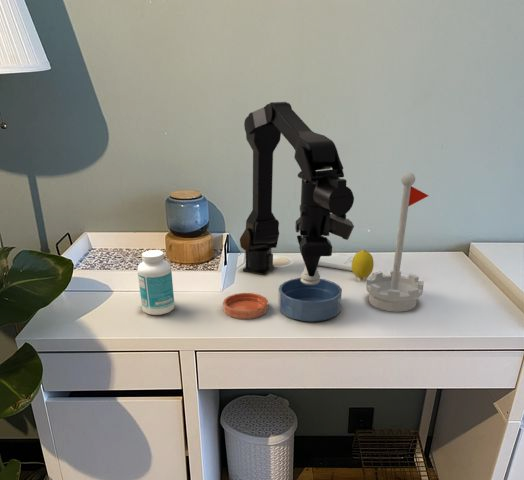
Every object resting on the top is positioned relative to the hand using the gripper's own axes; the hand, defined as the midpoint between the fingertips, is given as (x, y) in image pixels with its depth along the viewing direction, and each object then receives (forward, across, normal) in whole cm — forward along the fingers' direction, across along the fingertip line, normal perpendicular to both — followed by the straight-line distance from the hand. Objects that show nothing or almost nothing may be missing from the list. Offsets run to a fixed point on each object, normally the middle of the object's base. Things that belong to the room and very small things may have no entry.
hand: (310, 273), depth 124 cm
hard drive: (+9, +29, -11) cm, 32 cm away
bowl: (+9, 0, 0) cm, 9 cm away
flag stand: (+9, +4, -20) cm, 23 cm away
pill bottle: (+9, 0, +35) cm, 36 cm away
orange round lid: (+9, 0, +15) cm, 17 cm away
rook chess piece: (+2, 0, 0) cm, 2 cm away
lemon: (+9, +18, -15) cm, 25 cm away
